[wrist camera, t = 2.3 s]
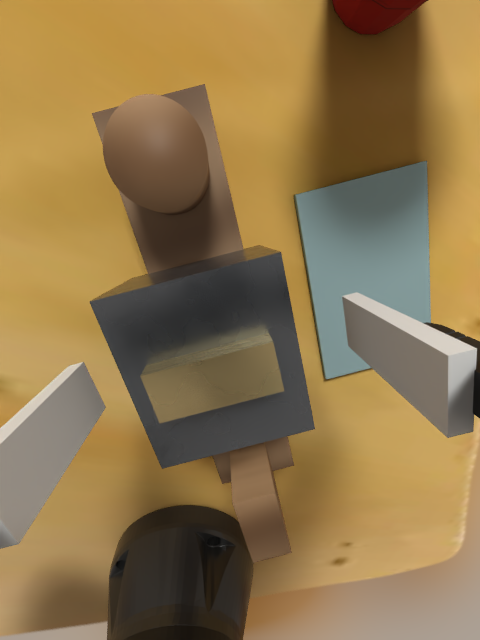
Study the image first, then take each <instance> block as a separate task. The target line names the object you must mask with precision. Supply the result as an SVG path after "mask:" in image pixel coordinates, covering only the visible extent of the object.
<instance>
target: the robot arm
mask: <svg viewBox="0 0 480 640" xmlns="http://www.w3.org/2000/svg"><path fill="white" fill-rule="evenodd" d="M342 300H343V308H344V316H345V324H346V332H347V340H348V346H349V347H350V348H351V349H352V350H353V351H354V352H355V353H356V354H357V355H358V356H359V357H361V358H362V359H363V360H364V361H365V362H366V363H367V364H368V365H369V366H370V367H371V368H373V369H374V370H375V371H376V372H377V373H378V374H379V375H380V376H381V377H382V378H383V379H384V380H386V381H387V382H388V383H389V384H390V385H391V386H392V387H393V388H394V389H395V390H396V391H397V392H399V393H400V394H401V395H402V396H403V397H404V398H405V399H406V400H407V401H408V402H409V403H410V404H412V405H413V406H414V407H415V408H416V409H417V410H418V411H419V412H420V413H421V414H422V415H423V416H425V417H426V418H427V419H428V420H429V421H430V422H431V423H432V424H433V425H434V426H435V427H437V428H438V429H439V430H440V431H441V432H442V433H443V434H444V435H445V436H446V437H447V438H449V437H453V436H457V435H461V434H465V433H469V432H473V425H474V414H475V415H476V416H477V417H479V418H480V342H479V341H477V340H475V339H473V338H470V337H468V336H467V337H466V336H465V335H464V334H461V333H459V332H455V331H454V330H452V329H450V328H448V327H445V326H443V325H438V324H433V323H429V322H426V323H422V322H419V321H417V320H415V319H413V318H411V317H409V316H407V315H405V314H402V313H400V312H398V311H396V310H394V309H392V308H390V307H387V306H385V305H383V304H381V303H379V302H377V301H375V300H373V299H370V298H368V297H366V296H364V295H362V294H360V293H358V292H356V293H353V294H349V295H345V296H342ZM105 408H106V407H105V405H104V403H103V401H102V399H101V397H100V395H99V393H98V390H97V388H96V386H95V384H94V382H93V380H92V378H91V376H90V374H89V372H88V370H87V368H86V366H85V364H84V362H82V363H78V364H74V365H70V366H68V367H67V368H66V369H65V370H64V371H63V372H62V373H60V374H59V375H58V376H57V377H56V378H55V379H54V380H53V381H52V382H51V383H49V384H48V385H47V386H46V387H45V388H44V389H43V390H42V391H41V392H40V393H39V394H37V395H36V396H35V397H34V398H33V399H32V400H31V401H30V402H29V403H28V404H26V405H25V406H24V407H23V408H22V409H21V410H20V411H19V412H18V413H17V414H16V415H14V416H13V417H12V418H11V419H10V420H9V421H8V422H7V423H6V424H5V425H4V426H2V427H1V428H0V549H1V548H5V547H9V546H13V545H17V544H19V543H20V541H21V540H22V538H23V537H24V535H25V534H26V532H27V530H28V529H29V527H30V526H31V524H32V523H33V521H34V519H35V518H36V516H37V515H38V513H39V512H40V510H41V508H42V507H43V505H44V504H45V502H46V501H47V499H48V497H49V496H50V494H51V493H52V491H53V490H54V488H55V486H56V485H57V483H58V482H59V480H60V479H61V477H62V475H63V474H64V472H65V471H66V469H67V468H68V466H69V464H70V463H71V461H72V460H73V458H74V456H75V455H76V453H77V452H78V450H79V449H80V447H81V445H82V444H83V442H84V441H85V439H86V438H87V436H88V434H89V433H90V431H91V430H92V428H93V427H94V425H95V423H96V422H97V420H98V419H99V417H100V416H101V414H102V412H103V411H104V409H105ZM252 578H253V561H252V558H251V555H250V552H249V550H248V547H247V544H246V541H245V538H244V535H243V532H242V529H241V527H240V524H239V522H237V521H236V520H235V519H234V518H232V517H231V516H229V515H227V514H225V513H223V512H221V511H218V510H215V509H212V508H208V507H202V506H192V505H184V506H174V507H168V508H164V509H160V510H157V511H154V512H152V513H149V514H147V515H145V516H143V517H142V518H140V519H138V520H137V521H136V522H134V523H133V524H132V525H131V526H130V527H129V528H128V529H127V530H126V531H125V532H124V534H123V535H122V537H121V538H120V540H119V543H118V545H117V548H116V552H115V555H114V558H113V561H112V564H111V569H110V575H109V600H108V629H107V630H108V631H107V640H243V635H244V629H245V621H246V616H247V609H248V603H249V597H250V591H251V584H252Z"/></svg>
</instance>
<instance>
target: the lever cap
mask: <svg viewBox="0 0 480 640" xmlns="http://www.w3.org/2000/svg"><path fill="white" fill-rule="evenodd" d="M90 304H91V307H92V309H93V311H94V313H95V316H96V318H97V320H98V323H99V325H100V327H101V329H102V332H103V334H104V336H105V339H106V341H107V343H108V346H109V348H110V350H111V352H112V355H113V357H114V359H115V362H116V364H117V366H118V369H119V371H120V373H121V375H122V378H123V380H124V382H125V385H126V387H127V389H128V392H129V394H130V396H131V398H132V401H133V403H134V405H135V408H136V410H137V412H138V414H139V417H140V419H141V421H142V424H143V426H144V428H145V431H146V433H147V435H148V437H149V440H150V442H151V444H152V447H153V449H154V451H155V454H156V456H157V458H158V460H159V463H160V465H161V467H162V469H163V468H166V467H170V466H174V465H178V464H182V463H186V462H190V461H193V460H197V459H201V458H205V457H209V456H213V455H217V454H220V453H224V452H228V451H232V450H236V449H240V448H244V447H247V446H251V445H255V444H259V443H263V442H267V441H271V440H274V439H278V438H282V437H286V436H290V435H294V434H298V433H301V432H305V431H309V430H313V429H315V427H314V421H313V416H312V411H311V406H310V401H309V396H308V390H307V385H306V380H305V375H304V370H303V364H302V359H301V354H300V349H299V344H298V338H297V333H296V328H295V323H294V318H293V312H292V307H291V302H290V297H289V292H288V287H287V281H286V276H285V271H284V266H283V261H282V255H281V252H279V251H276V250H273V249H270V248H267V247H264V246H260V245H258V246H254V247H250V248H246V249H243V250H239V251H235V252H231V253H227V254H223V255H219V256H216V257H212V258H208V259H204V260H200V261H196V262H192V263H189V264H185V265H181V266H177V267H173V268H169V269H165V270H162V271H158V272H154V273H150V274H146V275H142V276H138V277H135V278H132V279H130V280H128V281H126V282H124V283H123V284H121V285H119V286H117V287H115V288H113V289H112V290H110V291H108V292H106V293H104V294H102V295H101V296H99V297H97V298H95V299H93V300H91V301H90Z"/></svg>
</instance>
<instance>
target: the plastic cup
mask: <svg viewBox="0 0 480 640" xmlns="http://www.w3.org/2000/svg"><path fill="white" fill-rule="evenodd" d="M332 1H333V5H334V9H335V11H336V13H337V14H338V15H339V17H340V18H341V20H342V21H343V23H344V24H345V26H347V27H349V28H350V29H352V30H354V31H356V32H357V33H359V34H378V33H380V32H382V31H384V30H386V29H388V28H390V27H392V26H394V25H396V24H398V23H400V22H401V21H402V20H403V19H405V18H406V17H407V16H408V15H410V14H411V13H412V12H413V11H414V10H416V9H417V8H418V7H419V6H421V5H422V4H423V3H424V2H426V1H428V0H332Z"/></svg>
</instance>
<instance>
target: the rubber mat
mask: <svg viewBox="0 0 480 640" xmlns="http://www.w3.org/2000/svg"><path fill="white" fill-rule="evenodd" d="M294 200H295V206H296V212H297V217H298V223H299V229H300V235H301V241H302V247H303V253H304V259H305V265H306V271H307V277H308V283H309V289H310V295H311V301H312V307H313V313H314V319H315V325H316V331H317V337H318V343H319V349H320V355H321V361H322V367H323V373H324V377H325V379H330V378H334V377H338V376H342V375H346V374H349V373H353V372H357V371H361V370H365V369H369V368H371V367H370V366H369V365H368V364H367V363H366V362H365V361H364V360H363V359H362V358H361V357H359V356H358V355H357V354H356V353H355V352H354V351H353V350H352V349H351V348H350V347H349V346H348V340H347V332H346V324H345V316H344V308H343V300H342V296H345V295H349V294H353V293H356V292H358V293H360V294H362V295H364V296H366V297H368V298H370V299H373V300H375V301H377V302H379V303H381V304H383V305H385V306H387V307H390V308H392V309H394V310H396V311H398V312H400V313H402V314H405V315H407V316H409V317H411V318H413V319H415V320H417V321H419V322H422V323H426V322H429V323H431V312H430V270H429V228H428V186H427V161H424V162H420V163H416V164H412V165H408V166H404V167H401V168H397V169H393V170H389V171H385V172H381V173H377V174H374V175H370V176H366V177H362V178H358V179H354V180H350V181H347V182H343V183H339V184H335V185H331V186H327V187H323V188H320V189H316V190H312V191H308V192H304V193H300V194H296V195H294Z"/></svg>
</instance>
